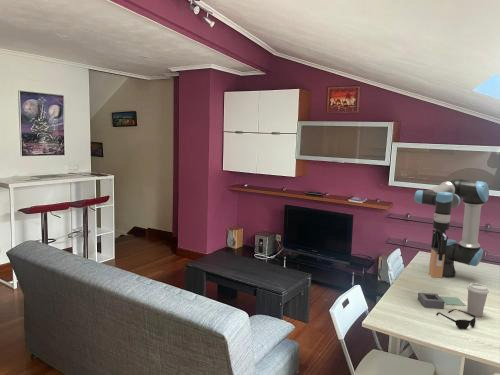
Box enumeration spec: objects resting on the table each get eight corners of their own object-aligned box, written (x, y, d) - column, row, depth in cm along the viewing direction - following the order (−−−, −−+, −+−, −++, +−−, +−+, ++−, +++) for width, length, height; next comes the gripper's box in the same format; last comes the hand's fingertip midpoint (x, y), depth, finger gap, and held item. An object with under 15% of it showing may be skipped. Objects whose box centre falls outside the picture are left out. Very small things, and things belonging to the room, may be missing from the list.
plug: (428, 274, 202) (431, 247, 200) (437, 274, 202) (441, 248, 200) (432, 277, 197) (435, 250, 195) (441, 278, 197) (445, 251, 195)
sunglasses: (459, 331, 174) (461, 321, 173) (431, 316, 188) (432, 306, 188) (479, 326, 179) (480, 317, 179) (450, 312, 194) (451, 303, 193)
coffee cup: (482, 311, 195) (486, 284, 193) (487, 319, 186) (491, 291, 184) (462, 308, 198) (465, 281, 196) (466, 316, 189) (469, 288, 187)
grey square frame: (417, 299, 207) (418, 292, 206) (436, 300, 206) (436, 293, 206) (424, 307, 197) (425, 300, 196) (443, 309, 196) (444, 301, 196)
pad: (439, 296, 212) (439, 296, 212) (457, 297, 211) (457, 297, 211) (446, 304, 202) (446, 303, 202) (466, 305, 201) (466, 305, 201)
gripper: (427, 217, 205) (423, 258, 208) (441, 225, 187) (436, 269, 190) (441, 218, 204) (436, 258, 207) (456, 226, 186) (451, 270, 190)
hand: (436, 263), depth 199 cm, fingers closed on plug, 5 cm apart
